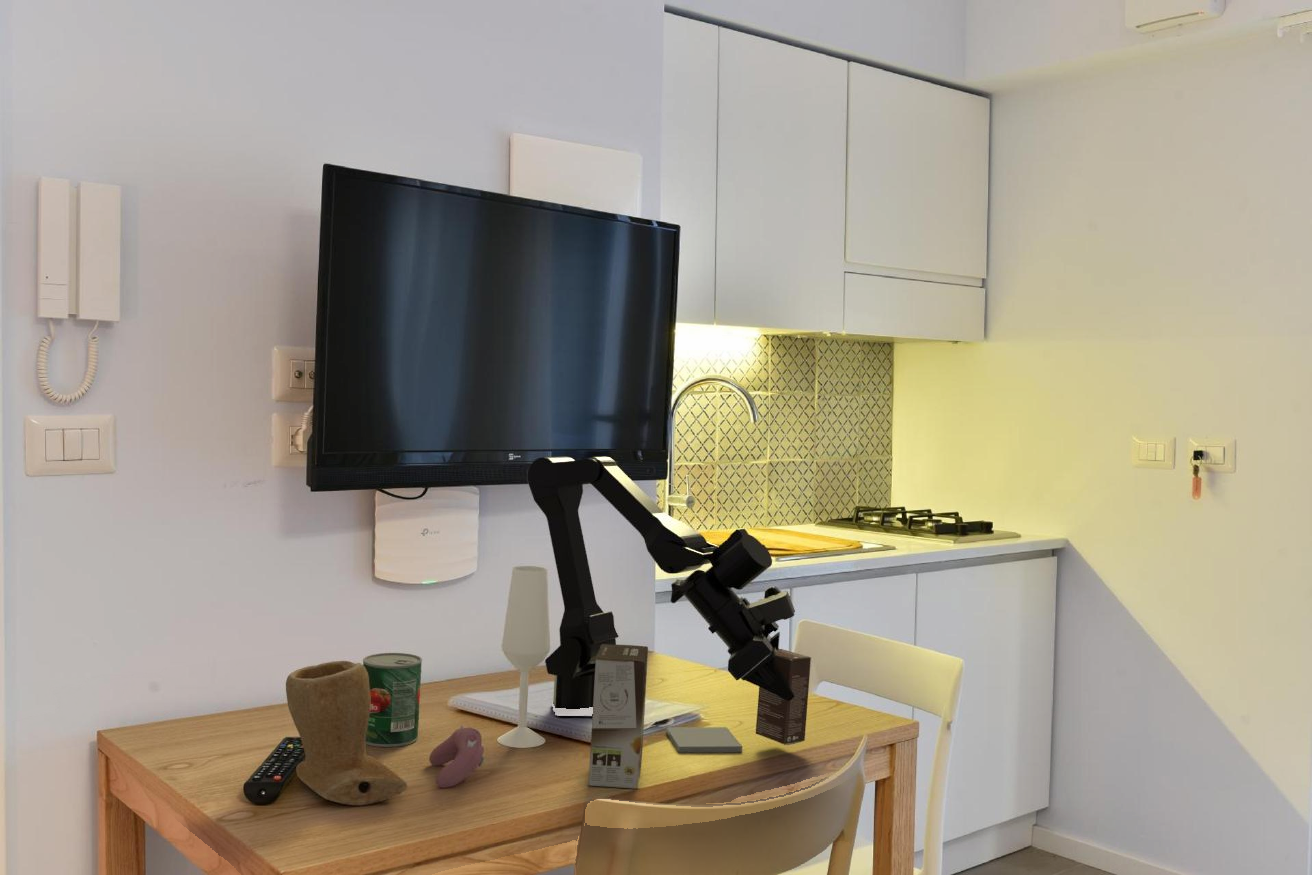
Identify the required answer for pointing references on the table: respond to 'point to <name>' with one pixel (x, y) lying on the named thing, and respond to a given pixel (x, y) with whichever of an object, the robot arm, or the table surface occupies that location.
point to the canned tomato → (393, 699)
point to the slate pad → (703, 739)
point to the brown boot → (338, 734)
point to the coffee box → (618, 716)
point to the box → (779, 714)
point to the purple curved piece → (458, 756)
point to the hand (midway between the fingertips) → (793, 692)
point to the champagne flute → (526, 641)
